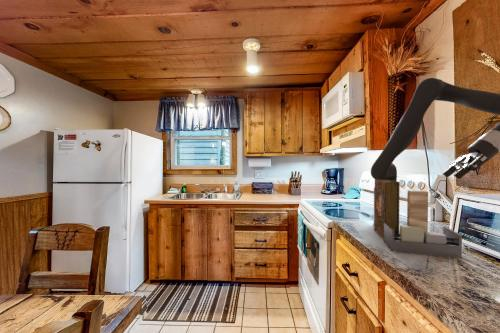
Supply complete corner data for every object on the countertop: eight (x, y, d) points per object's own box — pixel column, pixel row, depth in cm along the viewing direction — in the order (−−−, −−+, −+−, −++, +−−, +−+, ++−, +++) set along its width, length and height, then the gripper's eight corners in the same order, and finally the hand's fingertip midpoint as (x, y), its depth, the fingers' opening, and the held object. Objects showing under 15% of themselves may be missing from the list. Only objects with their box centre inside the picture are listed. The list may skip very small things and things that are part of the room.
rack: (384, 241, 102) (384, 222, 101) (445, 247, 95) (445, 226, 95) (391, 251, 91) (391, 230, 90) (461, 258, 84) (461, 235, 84)
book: (373, 229, 120) (373, 178, 119) (385, 230, 119) (386, 179, 118) (384, 240, 104) (385, 181, 103) (398, 241, 102) (399, 181, 102)
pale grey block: (423, 251, 91) (424, 232, 91) (442, 252, 90) (443, 233, 89) (426, 253, 89) (426, 234, 89) (446, 255, 87) (446, 235, 87)
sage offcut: (399, 248, 94) (399, 225, 93) (420, 250, 92) (421, 226, 91) (401, 251, 91) (401, 227, 91) (423, 253, 89) (423, 228, 89)
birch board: (406, 245, 98) (407, 190, 97) (424, 246, 96) (425, 190, 95) (409, 247, 95) (410, 191, 94) (427, 249, 93) (428, 191, 93)
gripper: (468, 140, 96) (433, 168, 99) (492, 136, 82) (451, 170, 86) (484, 153, 94) (448, 182, 98) (512, 152, 81) (469, 185, 84)
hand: (450, 176), depth 92 cm, fingers open, 8 cm apart
